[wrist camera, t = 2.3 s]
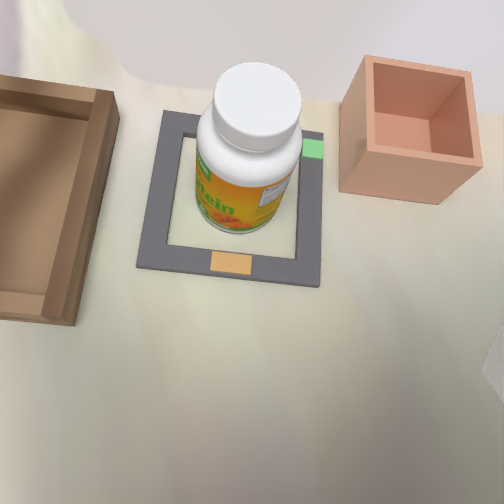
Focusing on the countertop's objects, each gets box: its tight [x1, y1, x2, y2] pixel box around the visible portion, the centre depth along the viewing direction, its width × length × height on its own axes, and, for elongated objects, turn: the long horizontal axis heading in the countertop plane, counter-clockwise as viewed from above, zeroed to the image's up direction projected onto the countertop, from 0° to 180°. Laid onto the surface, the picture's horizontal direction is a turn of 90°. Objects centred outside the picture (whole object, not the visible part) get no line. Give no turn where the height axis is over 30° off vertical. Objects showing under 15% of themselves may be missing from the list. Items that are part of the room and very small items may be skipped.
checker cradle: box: [136, 110, 323, 288], centre depth 28 cm, size 11×11×1 cm
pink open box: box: [339, 55, 483, 205], centre depth 28 cm, size 7×7×5 cm
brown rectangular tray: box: [0, 75, 120, 326], centre depth 25 cm, size 9×14×3 cm, turn 175°
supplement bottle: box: [195, 62, 302, 233], centre depth 24 cm, size 5×5×10 cm
